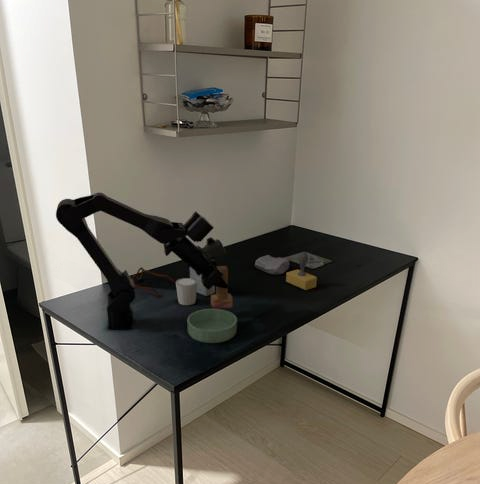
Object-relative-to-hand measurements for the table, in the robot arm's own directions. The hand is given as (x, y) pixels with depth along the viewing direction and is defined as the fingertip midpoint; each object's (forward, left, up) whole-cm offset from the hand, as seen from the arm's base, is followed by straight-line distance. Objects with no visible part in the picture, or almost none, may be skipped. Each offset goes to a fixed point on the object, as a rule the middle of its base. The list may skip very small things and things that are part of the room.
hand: (226, 285), depth 148 cm
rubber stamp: (+28, +24, -10) cm, 38 cm away
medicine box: (-7, +18, -10) cm, 22 cm away
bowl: (-4, -11, -10) cm, 15 cm away
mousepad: (+40, +47, -10) cm, 62 cm away
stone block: (+19, +39, -10) cm, 44 cm away
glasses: (-25, +22, -10) cm, 35 cm away
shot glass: (-12, +10, -10) cm, 19 cm away
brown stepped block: (-1, 0, -7) cm, 7 cm away
